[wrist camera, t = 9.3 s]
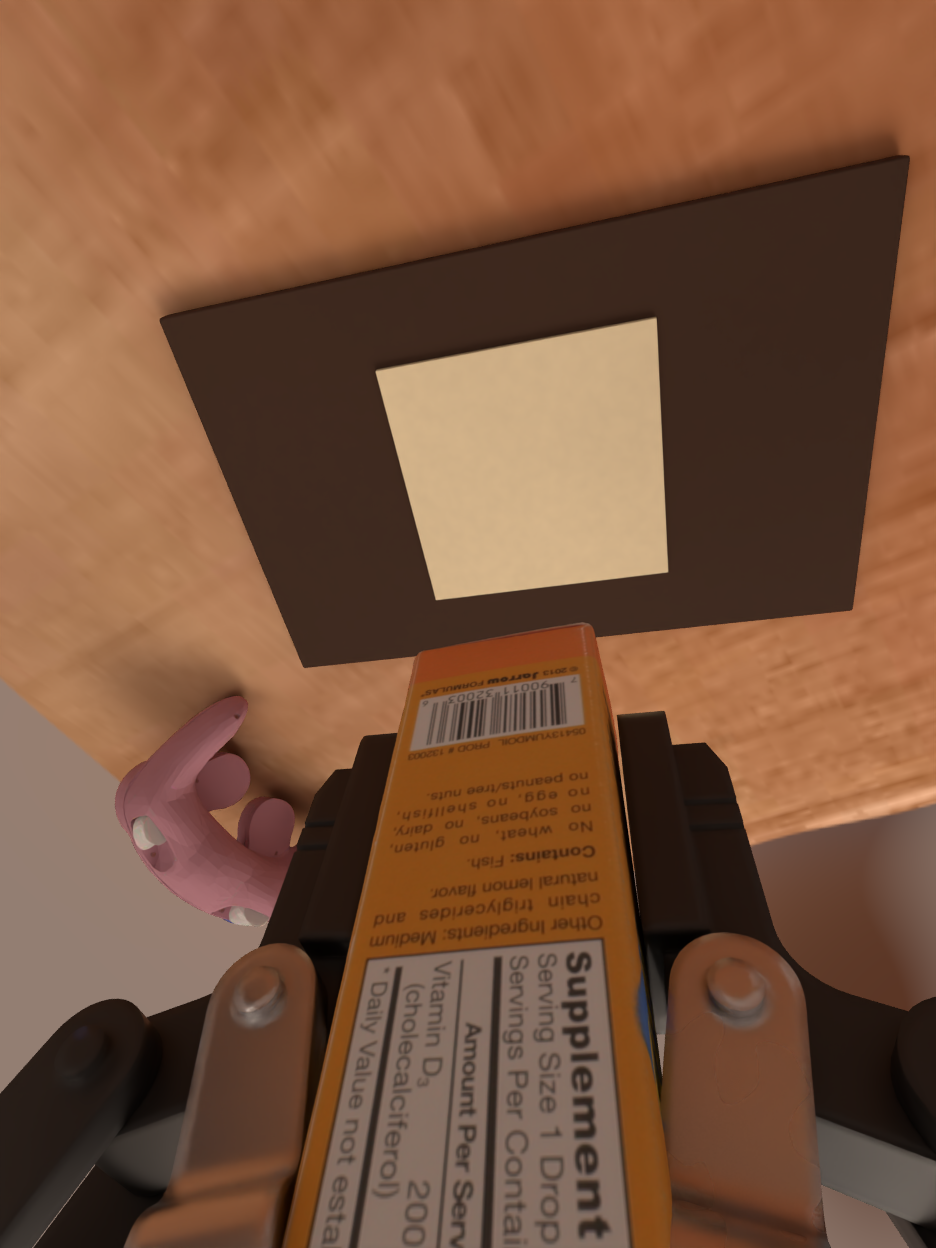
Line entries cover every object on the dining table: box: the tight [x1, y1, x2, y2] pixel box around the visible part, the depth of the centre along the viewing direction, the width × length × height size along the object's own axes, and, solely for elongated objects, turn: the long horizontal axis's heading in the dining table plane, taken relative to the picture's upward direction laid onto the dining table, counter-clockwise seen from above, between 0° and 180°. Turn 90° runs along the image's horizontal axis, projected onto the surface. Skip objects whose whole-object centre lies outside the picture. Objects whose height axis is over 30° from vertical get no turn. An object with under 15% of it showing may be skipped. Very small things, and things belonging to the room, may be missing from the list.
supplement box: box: [281, 622, 672, 1248], centre depth 8 cm, size 3×3×10 cm
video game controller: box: [115, 696, 297, 927], centre depth 30 cm, size 10×5×7 cm, turn 31°
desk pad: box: [160, 155, 910, 668], centre depth 22 cm, size 20×13×1 cm, turn 101°
